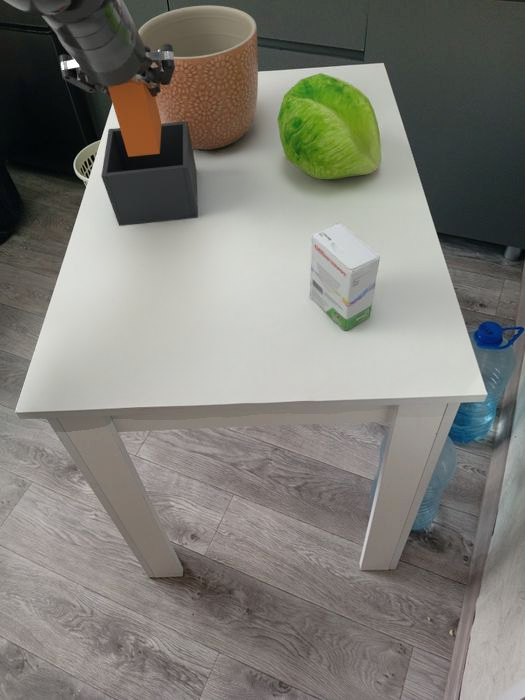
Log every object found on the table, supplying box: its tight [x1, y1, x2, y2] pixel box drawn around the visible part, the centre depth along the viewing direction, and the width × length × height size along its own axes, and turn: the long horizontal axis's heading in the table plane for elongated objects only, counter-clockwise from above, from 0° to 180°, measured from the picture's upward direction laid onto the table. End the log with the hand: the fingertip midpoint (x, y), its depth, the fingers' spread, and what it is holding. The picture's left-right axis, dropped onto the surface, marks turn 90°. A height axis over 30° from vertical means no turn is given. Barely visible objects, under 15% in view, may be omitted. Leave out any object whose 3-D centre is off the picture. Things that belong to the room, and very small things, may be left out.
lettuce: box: [277, 72, 382, 180], centre depth 88 cm, size 17×20×16 cm
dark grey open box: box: [100, 121, 199, 226], centre depth 88 cm, size 14×14×10 cm
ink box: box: [309, 222, 381, 332], centre depth 69 cm, size 8×5×12 cm, turn 33°
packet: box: [108, 81, 162, 157], centre depth 70 cm, size 4×8×10 cm, turn 5°
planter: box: [137, 5, 259, 150], centre depth 95 cm, size 21×21×19 cm
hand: (135, 90), depth 70 cm, fingers closed on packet, 4 cm apart
